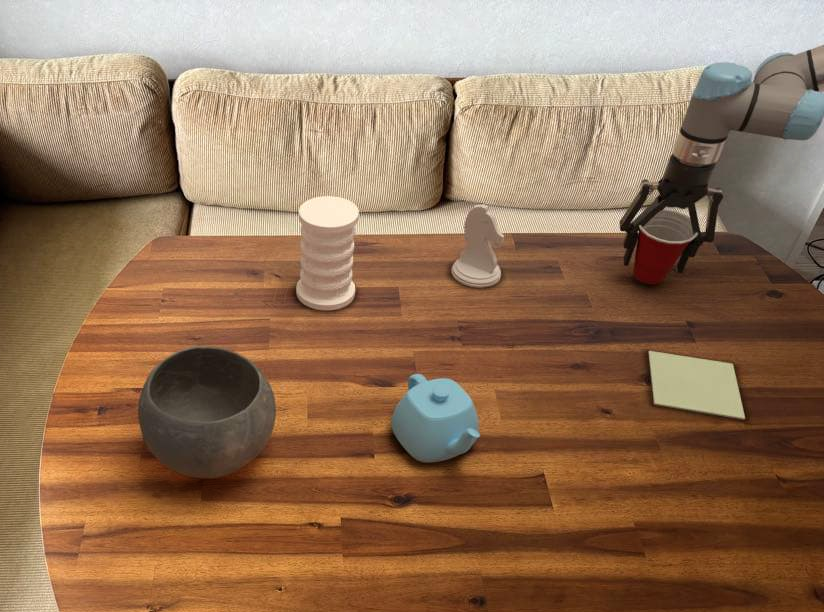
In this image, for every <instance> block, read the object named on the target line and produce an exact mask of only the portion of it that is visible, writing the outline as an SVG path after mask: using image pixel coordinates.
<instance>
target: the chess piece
mask: <svg viewBox="0 0 824 612" xmlns="http://www.w3.org/2000/svg"><path fill="white" fill-rule="evenodd" d="M489 210H490V209H489V205H486V204H484V203H482V204H480V203H479V204H475V205H474V206H473V207H472V208H471V209H470V210H469V211H468V213H467V215H466V217H465V221H464V226H463V232H464V238H465V245H464V246H465V247H464V250H462V251H460V253H459V257H460V258H458V259H457V260H456V261H454V262H453V264H452V266H451V270H450V271H451V276H452V277H453V279H455V281H457V282H458V283H460V284H462V285H464V286H467V287H470V288H477V289H481V288H482V289H483V288H488V287H489V288H490V287H492V286H494V285H496V284H497V283H499V282H500V280H501V276H502V271H501V267H500V266H499V265H498V259H497V255H496V254H495V252H494V249H493V248H492V246H493V247H494V248H496V249H497V248H498V247H499V248H500V247H501V246H502V245H503V244H504V241H505V235H504V234H503V233H502V232H501V231H500V229H499V227H498V224H497V221H496V218H495V215H494V214H493V212H491V211H489ZM489 241H490V242H491V244H492V246H491V244H490V242H489Z"/></svg>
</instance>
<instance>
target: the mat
mask: <svg viewBox="0 0 824 612" xmlns="http://www.w3.org/2000/svg"><path fill="white" fill-rule="evenodd" d="M647 355H648V364H649V371H650V373H649V374H650V382H651V391H652V399H653V401H652V402H653V406H658V407H663V408H664V407H665V408H671V409H677V410H683V411H689V412H695V413H701V414H707V415H712V416H718V417H725V418H730V419H737V420H742V421H744V420H746V416H745V412H744V407H743V406H744V405H743V402H742V398H741V393H740V388H739V384H738V380H737V375H736V373H735V372H736V371H735V367H734V363H731V362H725V361H717V360H711V359H705V358H698V357H693V356H685V355H679V354H673V353H666V352H660V351H653V350H648V352H647Z"/></svg>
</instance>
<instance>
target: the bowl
mask: <svg viewBox="0 0 824 612" xmlns="http://www.w3.org/2000/svg"><path fill="white" fill-rule="evenodd" d="M138 399H139V400H138V406H137V417H138V422H139V423H138V424H139V429H140V433H141V435H142V438H143V440H144V443H145V445H146V447H147V448H148V450H149V451H150V452H151V454H152V455H153V456H154V457H155V459H157V460H158V461H159V462H160V463H161V464H162V465H164V466H165V467H167V468H168V469H170V470H172V471H174V472H176V473H179V474H181V475H185V476H186V477H187V476H188V477H192V478H197V479H216V478H221V477H224V476H228V475H231V474H233V473H236V472H238V471H240V470H241V469H243V468H244V467H246V466H247V465H248V464H251V462H252V461H253V460H255V459H256V458H257V457H258V456H259V455H260V453H261V452H262V451H263V450H264V449H265V447H266V446H267V444H268V443H269V441H270V439H271V436H272V434H273V431H274V428H275V422H276V416H277V407H276V405H277V404H276V403H277V402H276V397H275V393H274V391H273V388H272V386H271V384H270V382H269V380H268V378H267V377H266V376H265V374H264V373H263V371H262V370H261V369H260V368H259V367H258V366H257V364H255V363H254V362H253V361H252V360H251V359H249V358H248V357H246V356H244V355H242V354H240V353H238V352H237V351H233V350H231V349H229V348H223V347H219V346H209V345H208V346H206V345H200V346H199V345H198V346H197V345H196V346H190V347H187V348H184V349H181V350H178V351H176V352H173V353H172V354H169V355H168V356H167V357H165V358H164V359H163V360H161V361H160V362H159V363H158V364H156V366H155V367H154V368H153V369H152V370H151V371H150V373H149V375H148V376H147V377H146V380H145V382H144V384H143V387H142V388H141V392H140V395H139V398H138Z"/></svg>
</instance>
